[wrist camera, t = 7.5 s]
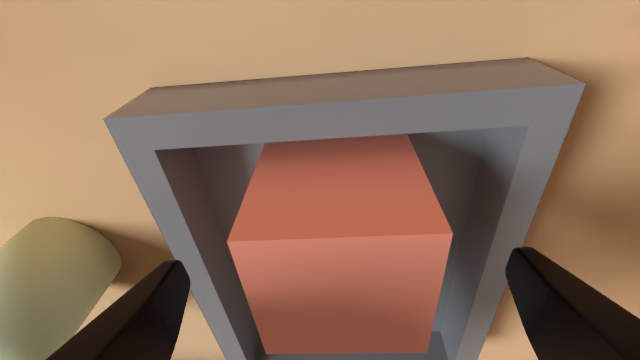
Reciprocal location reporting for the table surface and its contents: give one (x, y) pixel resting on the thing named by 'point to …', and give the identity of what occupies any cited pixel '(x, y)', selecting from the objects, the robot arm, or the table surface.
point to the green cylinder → (50, 285)
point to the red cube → (341, 247)
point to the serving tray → (343, 122)
